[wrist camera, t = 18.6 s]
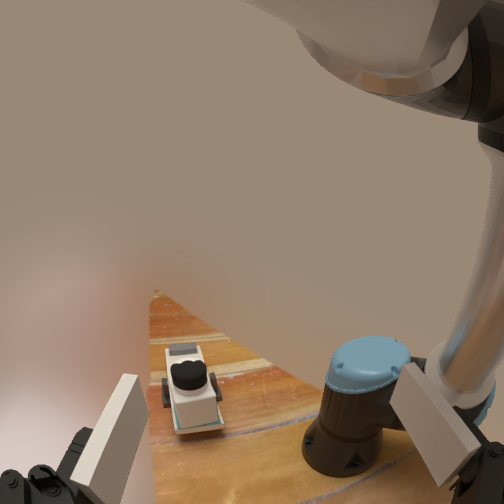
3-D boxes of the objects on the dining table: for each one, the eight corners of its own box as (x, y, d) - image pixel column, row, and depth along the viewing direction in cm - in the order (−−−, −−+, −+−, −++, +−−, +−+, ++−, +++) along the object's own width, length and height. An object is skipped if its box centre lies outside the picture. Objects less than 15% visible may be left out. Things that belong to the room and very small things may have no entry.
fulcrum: (162, 390, 56) (158, 373, 55) (216, 384, 60) (215, 367, 59) (164, 407, 51) (159, 390, 50) (222, 400, 55) (220, 383, 53)
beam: (166, 353, 66) (164, 344, 66) (199, 350, 69) (198, 340, 68) (176, 434, 40) (173, 424, 40) (224, 427, 43) (223, 417, 42)
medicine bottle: (219, 421, 43) (214, 373, 40) (181, 429, 40) (169, 381, 37) (208, 397, 49) (203, 349, 46) (173, 404, 47) (163, 356, 44)
